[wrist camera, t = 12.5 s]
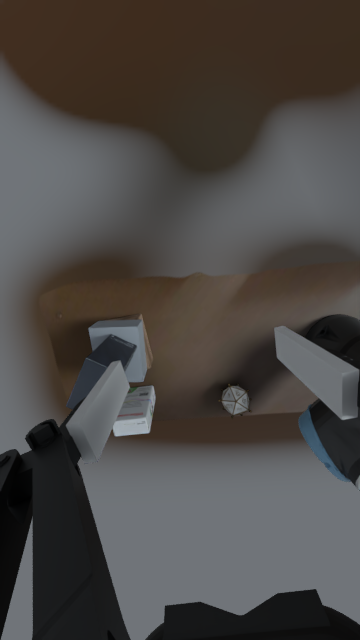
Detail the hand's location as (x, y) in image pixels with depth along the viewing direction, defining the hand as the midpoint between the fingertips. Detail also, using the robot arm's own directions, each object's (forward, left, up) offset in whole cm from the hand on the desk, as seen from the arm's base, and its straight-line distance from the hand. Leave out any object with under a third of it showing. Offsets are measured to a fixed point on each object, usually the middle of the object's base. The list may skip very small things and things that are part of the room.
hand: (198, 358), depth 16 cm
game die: (-8, +29, -31) cm, 44 cm away
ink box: (+18, +25, -31) cm, 44 cm away
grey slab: (+17, +8, -27) cm, 32 cm away
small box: (+17, +9, -22) cm, 29 cm away
